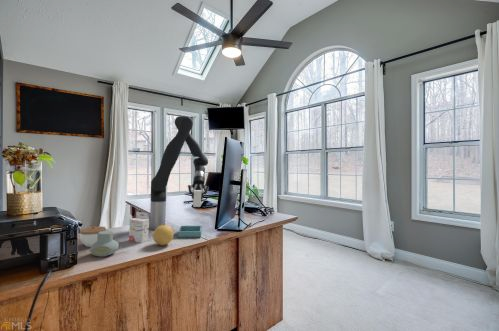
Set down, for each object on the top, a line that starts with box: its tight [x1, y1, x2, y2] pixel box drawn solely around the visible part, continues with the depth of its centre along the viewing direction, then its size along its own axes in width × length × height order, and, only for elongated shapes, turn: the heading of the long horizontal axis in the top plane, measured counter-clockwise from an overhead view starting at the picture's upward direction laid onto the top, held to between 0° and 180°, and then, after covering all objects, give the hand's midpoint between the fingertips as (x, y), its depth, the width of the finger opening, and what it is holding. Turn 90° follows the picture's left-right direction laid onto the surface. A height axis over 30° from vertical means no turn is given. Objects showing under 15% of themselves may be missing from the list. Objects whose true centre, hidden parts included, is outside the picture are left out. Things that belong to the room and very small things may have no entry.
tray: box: [177, 225, 203, 239], centre depth 137 cm, size 13×13×4 cm
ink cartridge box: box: [128, 211, 150, 244], centre depth 123 cm, size 9×5×15 cm, turn 74°
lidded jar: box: [79, 225, 107, 248], centre depth 115 cm, size 11×11×9 cm
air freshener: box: [89, 229, 120, 258], centre depth 104 cm, size 11×8×10 cm
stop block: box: [192, 190, 202, 208], centre depth 148 cm, size 4×4×10 cm
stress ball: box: [152, 224, 174, 246], centre depth 119 cm, size 10×10×10 cm
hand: (197, 198), depth 148 cm, fingers closed on stop block, 4 cm apart
